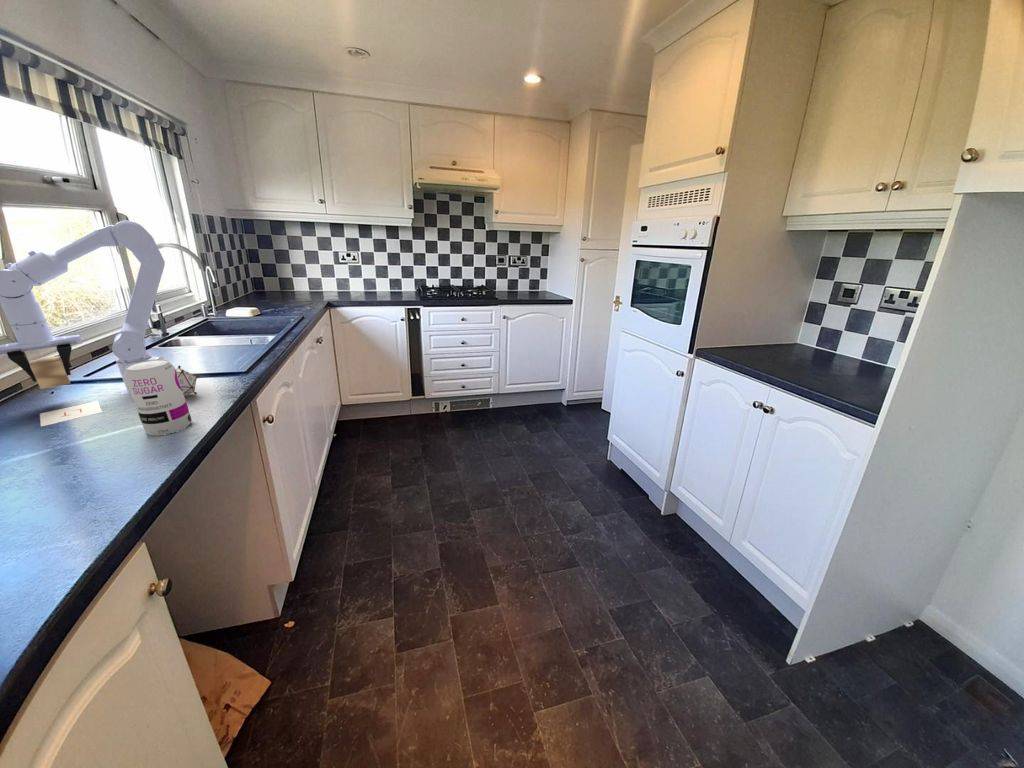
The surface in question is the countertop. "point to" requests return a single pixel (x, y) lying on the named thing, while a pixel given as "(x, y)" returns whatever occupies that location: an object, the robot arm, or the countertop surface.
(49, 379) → the oak cube
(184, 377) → the game die
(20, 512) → the countertop surface
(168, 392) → the supplement can
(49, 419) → the tile
